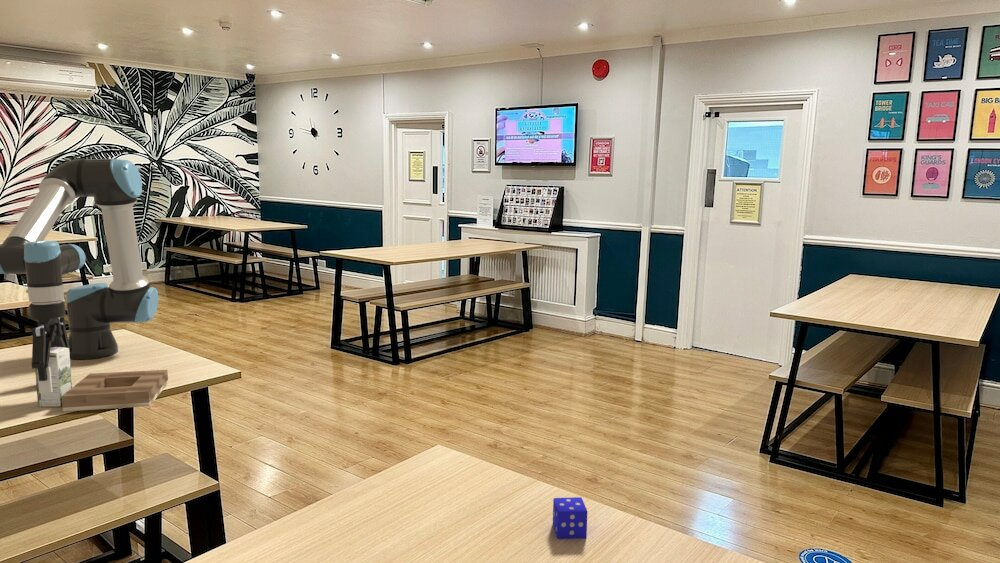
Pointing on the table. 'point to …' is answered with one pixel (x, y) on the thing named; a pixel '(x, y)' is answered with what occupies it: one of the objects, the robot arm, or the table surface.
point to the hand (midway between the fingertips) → (54, 385)
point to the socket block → (115, 390)
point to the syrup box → (56, 378)
